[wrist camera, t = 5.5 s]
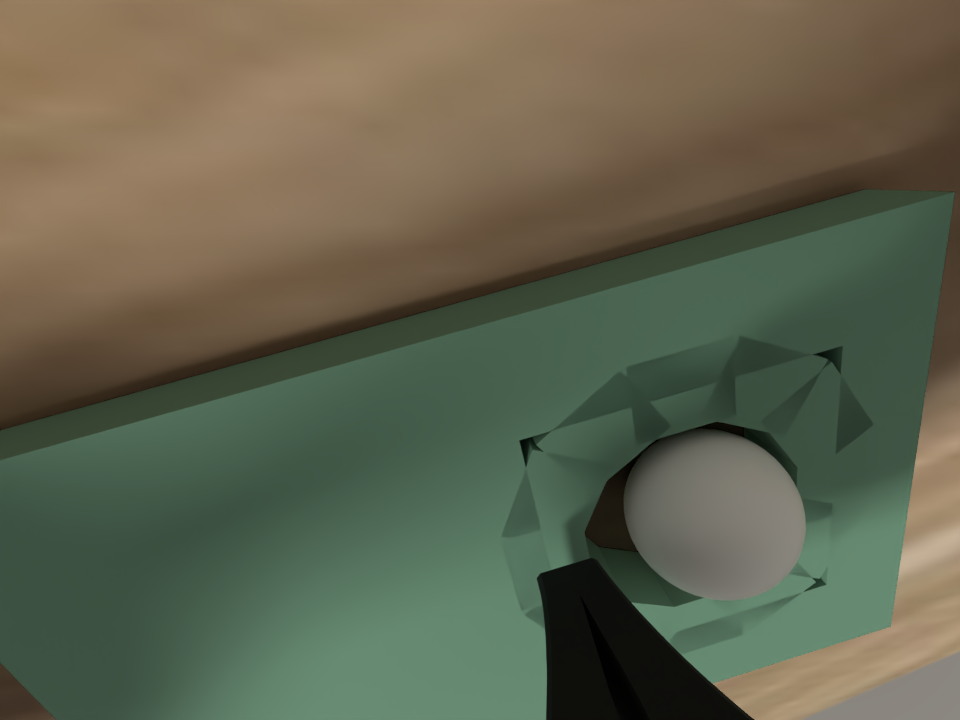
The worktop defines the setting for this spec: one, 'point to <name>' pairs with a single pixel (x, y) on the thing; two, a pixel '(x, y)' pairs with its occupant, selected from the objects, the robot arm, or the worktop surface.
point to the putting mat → (473, 482)
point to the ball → (714, 514)
